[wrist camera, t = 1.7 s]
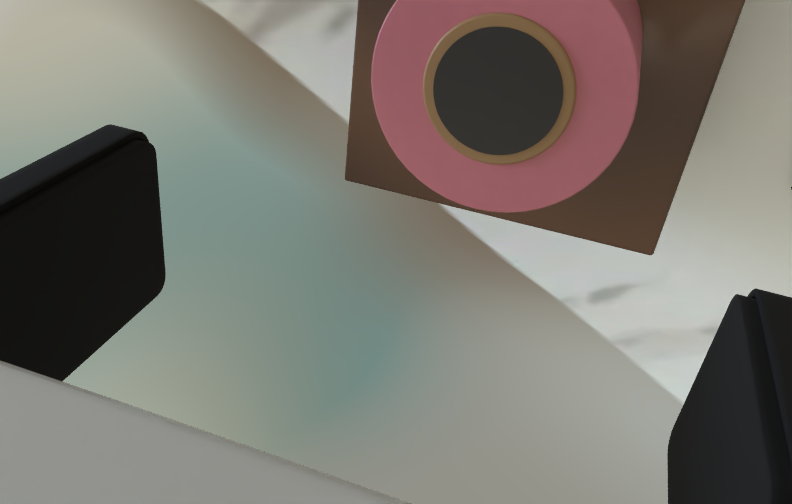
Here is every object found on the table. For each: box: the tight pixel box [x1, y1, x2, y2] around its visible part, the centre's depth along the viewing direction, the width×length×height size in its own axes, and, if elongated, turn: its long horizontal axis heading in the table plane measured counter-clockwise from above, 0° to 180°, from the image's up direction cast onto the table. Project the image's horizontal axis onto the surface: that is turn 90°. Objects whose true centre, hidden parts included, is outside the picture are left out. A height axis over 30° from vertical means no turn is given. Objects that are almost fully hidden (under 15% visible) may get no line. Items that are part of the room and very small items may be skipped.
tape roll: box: [371, 0, 643, 213], centre depth 19 cm, size 7×7×5 cm
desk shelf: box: [345, 0, 745, 255], centre depth 25 cm, size 12×11×10 cm
